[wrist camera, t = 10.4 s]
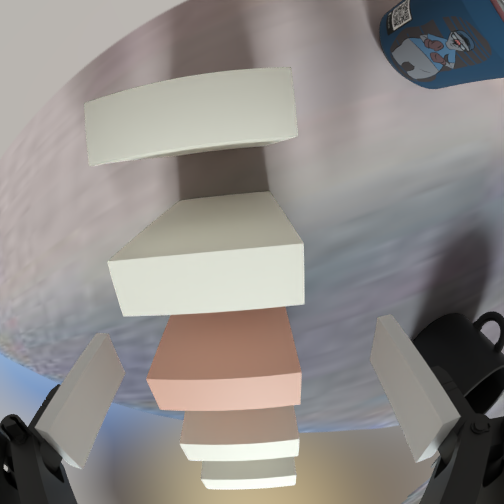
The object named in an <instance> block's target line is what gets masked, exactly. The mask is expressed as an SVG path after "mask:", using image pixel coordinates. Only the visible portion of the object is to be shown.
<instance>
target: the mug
mask: <svg viewBox="0 0 504 504" xmlns="http://www.w3.org/2000/svg"><path fill="white" fill-rule="evenodd" d="M488 321H496V322H497V323H498V324H499V326H500V338H499V340H498V342H496V344H495V345H494V344H493V343H492V342H491V341H490V340H489V339H488V338H487V337H486V336H485V335H484V334H483V333H482V332H481V331H480V330H481V329H482V326H483V325H484V324H485V323H486V322H488ZM413 345H414V346H415V347H416V349H417V350H418V352H419V353H420V355H421V356H422V357H423V359H424V360H425V362H426V363H427V365H428V366H429V368H431V367H435V366H440V367H441V368H443V369H444V370H445V371H447V372H448V374H449V375H450V377H451V378H452V379H453V382H455V384H456V385H457V388H459V390H460V391H461V393H462V394H463V396H464V397H465V399H466V400H467V402H468V403H469V405H470V406H471V408H472V409H473V411H474V412H475V413H476V414H483V415H484V414H485V413H486V412H487V411H488V410H489V409H490V408H491V407H492V406H493V405H494V404H495V403H496V402H497V400H498V399H499V398H500V396H501V395H502V394H503V392H504V354H503V353H502V352H501V350H502V349H503V346H504V318H503V316H502V315H501V314H499V313H497V312H487V313H485V314H483V315H482V316H480V317H479V319H478V320H477V321H475V322H474V323H471V322H470V321H469V320H468V319H467V318H466V317H465V316H463V315H460V314H449V315H446V316H444V317H441V318H439V319H438V320H436V321H434V322H433V323H432V324H430V325H429V326H428V327H427V328H425V329H424V330H423V331H422V332H421V333H420V334H419V335H418V337H417V338H416V339H415V340H414V341H413Z"/></svg>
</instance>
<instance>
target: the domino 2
mask: <svg viewBox="0 0 504 504" xmlns="http://www.w3.org/2000/svg"><path fill="white" fill-rule="evenodd" d="M107 262H108V266H109V270H110V274H111V277H112V281H113V284H114V288H115V291H116V294H117V298H118V301H119V304H120V307H121V310H122V313H123V316H153V315H178V314H197V313H213V312H227V311H240V310H252V309H263V308H274V307H284V306H293V305H302V304H304V243H303V242H302V240H301V239H300V237H299V235H298V234H297V232H296V231H295V229H294V228H293V226H292V225H291V223H290V221H289V220H288V218H287V217H286V215H285V214H284V212H283V211H282V209H281V208H280V206H279V205H278V203H277V202H276V200H275V199H274V197H273V196H272V194H271V193H270V191H265V192H253V193H242V194H232V195H222V196H213V197H204V198H195V199H187V200H180V201H178V202H177V203H176V204H175V205H173V206H172V207H171V208H170V209H168V210H167V211H166V212H165V213H163V214H162V215H161V216H160V217H158V218H157V219H156V220H155V221H153V222H152V223H151V224H150V225H149V226H147V227H146V228H145V229H144V230H143V231H142V232H140V233H139V234H138V235H137V236H136V237H134V238H133V239H132V240H131V241H130V242H129V243H128V244H126V245H125V246H124V247H123V248H122V249H121V250H120V251H118V252H117V253H116V254H115V255H114V256H113V257H112V258H111V259H110V260H108V261H107Z"/></svg>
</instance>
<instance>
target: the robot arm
mask: <svg viewBox="0 0 504 504" xmlns="http://www.w3.org/2000/svg"><path fill="white" fill-rule="evenodd" d="M370 362H371V364H372V366H373V368H374V370H375V372H376V374H377V376H378V378H379V381H380V383H381V385H382V387H383V389H384V391H385V393H386V395H387V398H388V400H389V402H390V404H391V406H392V409H393V411H394V413H395V415H396V417H397V420H398V422H399V424H400V427H401V429H402V431H403V433H404V436H405V438H406V440H407V443H408V445H409V448H410V450H411V452H412V454H413V457H414V459H415V462H416V463H417V462H419V461H422V460H424V459H427V458H429V457H432V456H433V454H434V453H435V452H436V450H437V449H438V451H439V453H440V456H439V457H438V458H437V459H436V461H435V462H434V463H433V464H432V466H431V467H432V468H433V467H434V466H435V465H436V466H435V468H434V471H433V474H432V476H431V478H430V481H429V483H428V486H427V488H426V490H425V493H424V495H423V497H422V499H421V501H420V503H419V504H504V416H503V417H498V418H493V419H489V418H488V417H487V416H486V415H483V414H476V413H475V412H474V411H473V409H472V408H471V406H470V405H469V403H468V402H467V400H466V399H465V397H464V396H463V394H462V393H461V391H460V390H459V388H457V385H456V384H455V382H453V379H452V378H451V377H450V375H449V374H448V372H447V371H445V370H444V369H443V368H441V367H440V366H435V367H431V368H429V366H428V365H427V363H426V362H425V360H424V359H423V357H422V356H421V355H420V353H419V352H418V350H417V349H416V347H415V346H414V345H413V343H412V342H411V340H410V339H409V338H408V336H407V335H406V333H405V332H404V331H403V329H402V328H401V327H400V325H399V324H398V322H397V321H396V320H395V318H394V317H393V316H392V315H386V316H380V317H378V318H377V324H376V330H375V335H374V341H373V346H372V351H371V356H370ZM124 375H125V371H124V369H123V367H122V365H121V363H120V360H119V358H118V356H117V353H116V351H115V349H114V346H113V344H112V341H111V339H110V336H109V334H104V333H96V335H95V336H94V337H93V339H92V340H91V342H90V343H89V344H88V346H87V347H86V349H85V350H84V351H83V353H82V354H81V356H80V357H79V359H78V360H77V362H76V363H75V364H74V366H73V367H72V369H71V370H70V372H69V373H68V375H67V376H66V378H65V379H64V381H63V382H62V384H61V385H59V384H58V385H57V386H56V387H54V388H53V389H52V390H51V391H50V392H49V394H48V395H47V397H46V400H44V402H43V403H42V406H40V408H39V410H38V411H37V413H36V414H35V416H34V418H33V419H32V421H31V423H30V424H29V426H28V427H27V426H26V425H25V423H24V422H23V421H22V420H21V419H20V417H19V416H18V415H15V414H11V415H8V416H6V417H5V418H4V419H3V420H2V421H1V423H0V504H77V501H76V499H75V496H74V494H73V491H72V489H71V486H70V483H69V480H68V478H67V475H66V472H65V469H64V466H63V465H62V463H61V460H62V458H63V459H64V460H65V461H66V462H67V463H68V464H69V465H71V466H74V467H77V468H80V469H83V468H84V465H85V463H86V460H87V458H88V455H89V453H90V451H91V448H92V446H93V444H94V441H95V438H96V436H97V434H98V432H99V430H100V427H101V425H102V422H103V420H104V418H105V416H106V413H107V411H108V409H109V407H110V405H111V403H112V401H113V398H114V396H115V394H116V392H117V390H118V388H119V386H120V384H121V381H122V379H123V377H124ZM4 464H5V465H6V466H7V467H8V471H5V470H4V469H3V468H4Z"/></svg>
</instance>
